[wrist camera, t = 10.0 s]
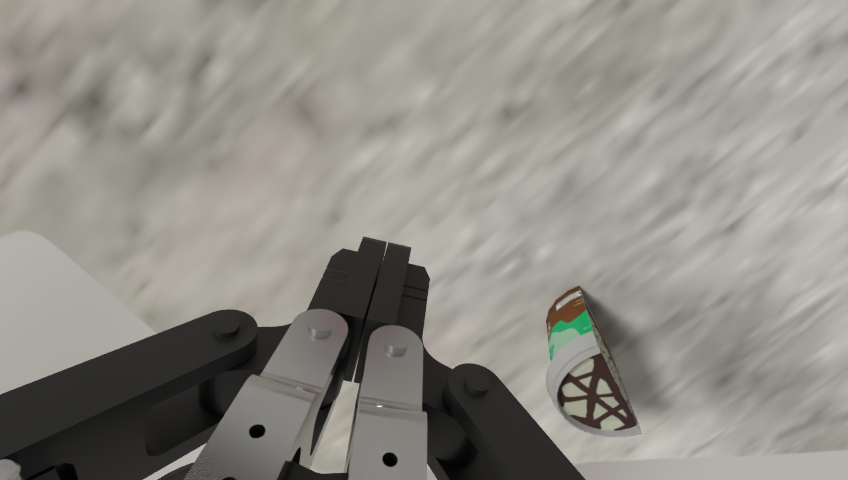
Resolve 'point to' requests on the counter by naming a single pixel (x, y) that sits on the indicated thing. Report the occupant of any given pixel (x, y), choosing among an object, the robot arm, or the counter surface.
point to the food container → (585, 371)
